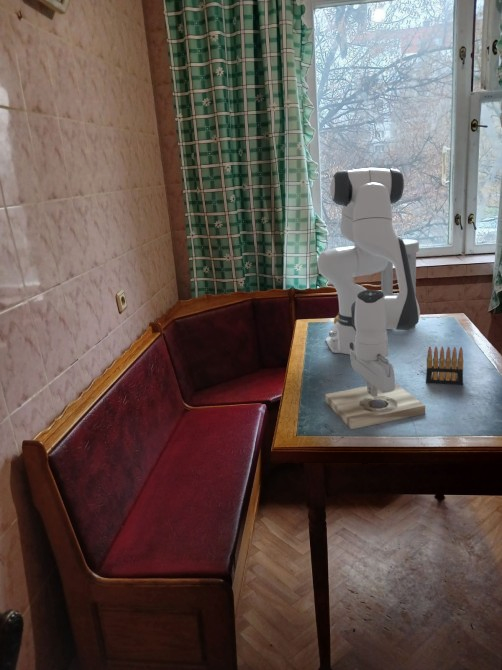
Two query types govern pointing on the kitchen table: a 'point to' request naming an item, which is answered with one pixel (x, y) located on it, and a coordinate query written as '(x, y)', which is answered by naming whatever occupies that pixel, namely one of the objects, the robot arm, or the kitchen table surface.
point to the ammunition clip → (445, 367)
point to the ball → (378, 404)
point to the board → (359, 410)
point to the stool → (387, 273)
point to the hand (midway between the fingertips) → (372, 394)
